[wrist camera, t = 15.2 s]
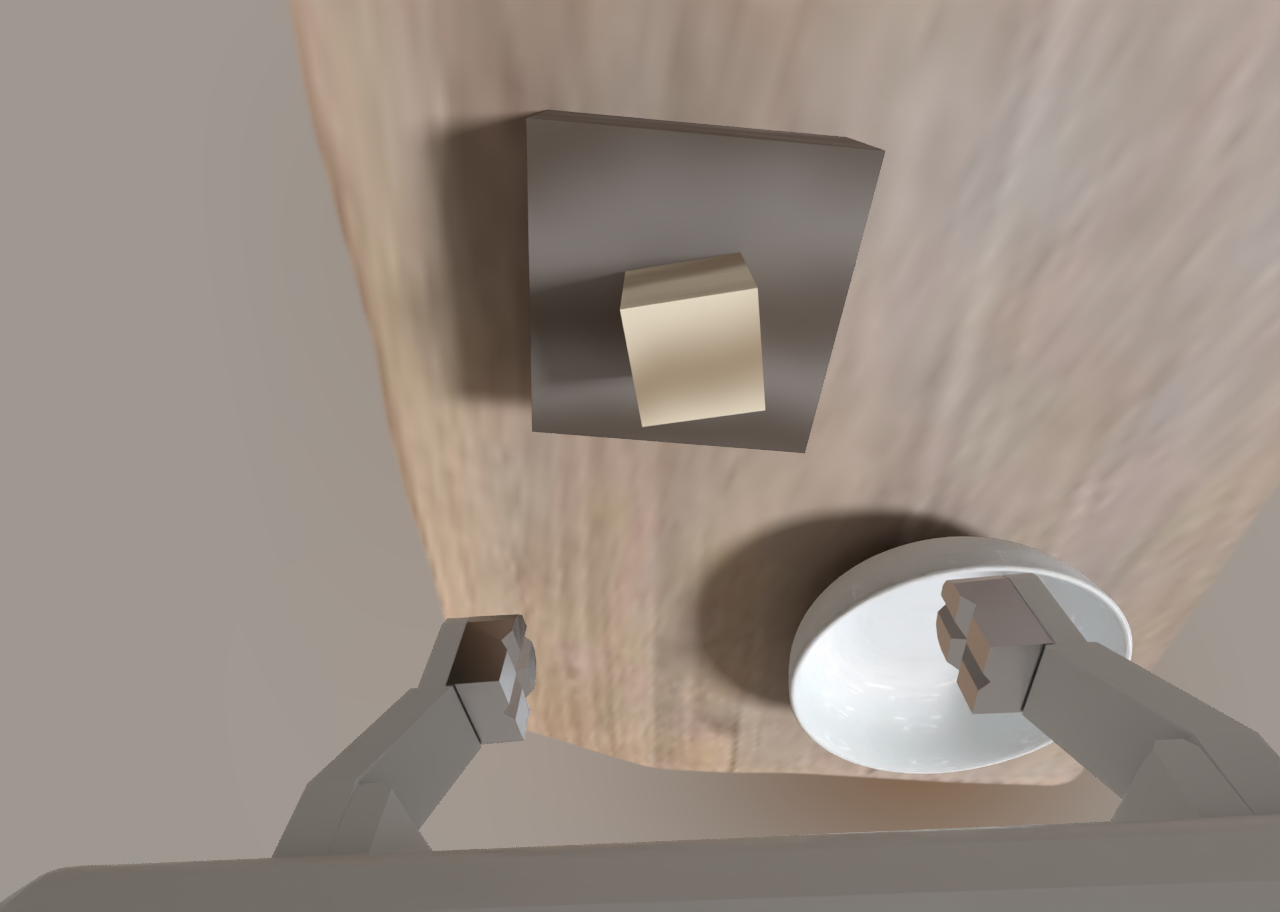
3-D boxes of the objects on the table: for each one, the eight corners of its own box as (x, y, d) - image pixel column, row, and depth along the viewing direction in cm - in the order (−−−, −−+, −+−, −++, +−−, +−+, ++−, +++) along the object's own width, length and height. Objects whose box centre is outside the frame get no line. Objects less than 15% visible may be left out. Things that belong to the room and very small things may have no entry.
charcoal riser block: (549, 109, 28) (526, 118, 23) (844, 136, 29) (885, 150, 24) (549, 380, 36) (532, 431, 31) (783, 399, 36) (804, 453, 31)
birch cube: (625, 271, 26) (619, 309, 22) (740, 252, 26) (757, 287, 22) (643, 374, 29) (642, 426, 25) (748, 359, 29) (765, 410, 24)
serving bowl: (781, 501, 40) (802, 574, 34) (1111, 486, 39) (1191, 560, 33) (767, 699, 51) (781, 780, 45) (1023, 692, 50) (1072, 774, 44)
